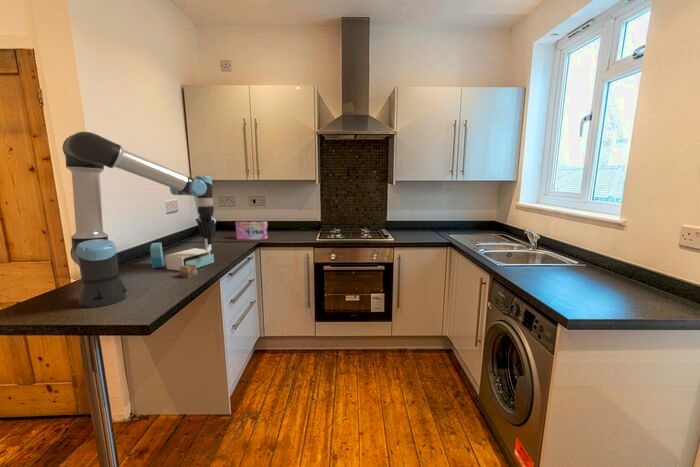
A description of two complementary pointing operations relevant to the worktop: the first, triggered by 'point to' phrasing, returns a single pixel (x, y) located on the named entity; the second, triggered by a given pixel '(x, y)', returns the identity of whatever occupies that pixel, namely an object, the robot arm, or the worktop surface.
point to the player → (183, 257)
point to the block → (188, 270)
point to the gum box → (251, 229)
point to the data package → (156, 255)
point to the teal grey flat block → (201, 260)
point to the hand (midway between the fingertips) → (208, 250)
